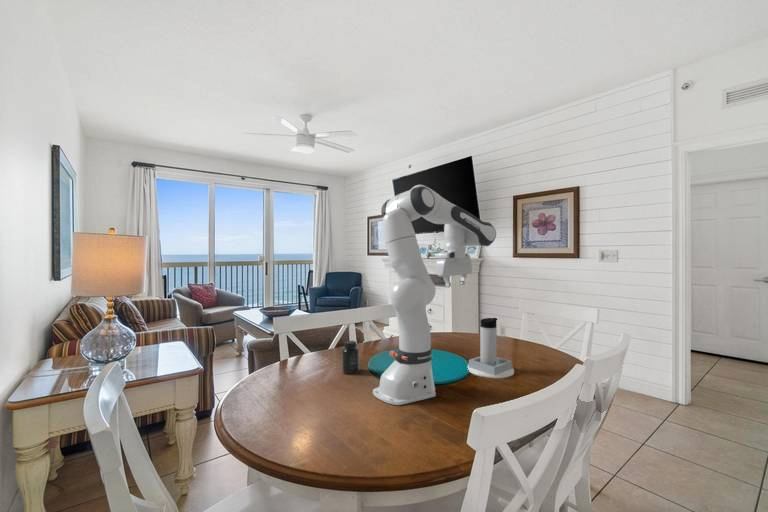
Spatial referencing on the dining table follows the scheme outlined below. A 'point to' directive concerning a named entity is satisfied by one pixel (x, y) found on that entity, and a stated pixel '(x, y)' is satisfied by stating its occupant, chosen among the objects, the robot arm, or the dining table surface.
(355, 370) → the supplement bottle
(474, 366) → the stand
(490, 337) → the travel mug
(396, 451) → the dining table surface
